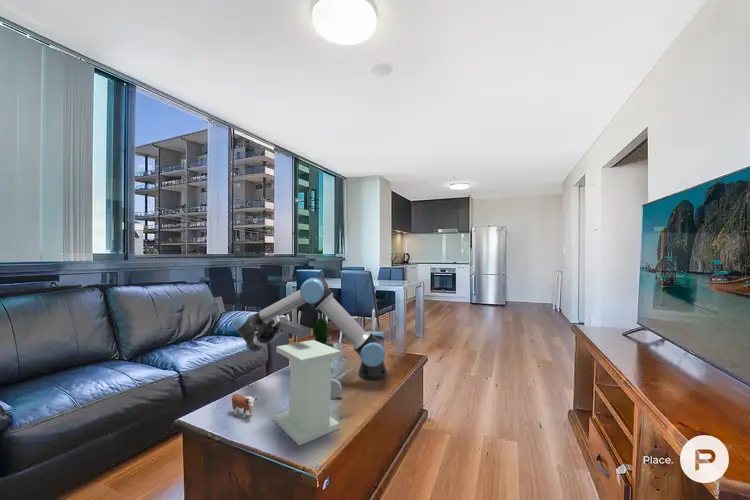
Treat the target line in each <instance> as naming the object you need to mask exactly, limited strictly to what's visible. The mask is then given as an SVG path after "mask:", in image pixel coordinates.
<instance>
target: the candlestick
mask: <svg viewBox="0 0 750 500" xmlns="http://www.w3.org/2000/svg"><path fill="white" fill-rule="evenodd" d="M372 308H373V309H372V311H371V331H375V332H376V328H375V327H376V310H375V304H373V306H372Z"/></svg>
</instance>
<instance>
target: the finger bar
mask: <svg viewBox="0 0 750 500" xmlns="http://www.w3.org/2000/svg"><path fill="white" fill-rule="evenodd" d="M274 318H275V317H272V318H270V321H271V320H273V319H274ZM283 318H284V317H281V316H279V322H278V323H277V324H276V325H275V326H274V327H277V328H279V329H281V330H283V332H286V333H289V334H292V335H293V336H296V337H298V338H301V339H305V338H310V337H312V336H314V328H311V327H308V326H305V325H303V324H300V323H297V322H294V321H291V320H290V321H289V320H286V319H283Z"/></svg>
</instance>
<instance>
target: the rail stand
mask: <svg viewBox="0 0 750 500" xmlns="http://www.w3.org/2000/svg"><path fill="white" fill-rule="evenodd" d="M275 347H276V351H275V352H276V353H277V354H280V355H281V356H284V357H285V358H287V359H289V361H290V363H289V364H290V366H289V367H290V369H289V370H290V371H289V372H290V373H289V399H288V400H289V401H288V404H289V405H288V410H287V411H284V412H280V413H278V414H275V415H274V416H273V418H274V419H273V420H274V422H275V424H277V425H278V426H279V427H280V428H281V430H282V431H284V432H285V433H286V434H287V435H288V436H289V437H290V438H291V439H292V440H293V441H294V442H295V444H297V445H298V446H301V445H305V444H306V443H309V442H311V441H313V440H316V439H319V438H320V437H323V436H325V435H327V434H330V433H332V432H334V431H337V430H339V429H340V422H339V421H337V420H336V419H335V418H333V417H332V416H331V399H330V395H331V379H332V363H331V359H332V360H333V359H337V358H342V357H341V356H342V351H341V350H340V349H337V348H335V347H334V348H332V347H329V346H327V345H325V344H322V343H320V342H317V341H316V339H312V340H306V341H305V340H304V341H299V342H293V343H288V344H283V345H282V344H281V345H278V346H275Z"/></svg>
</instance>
